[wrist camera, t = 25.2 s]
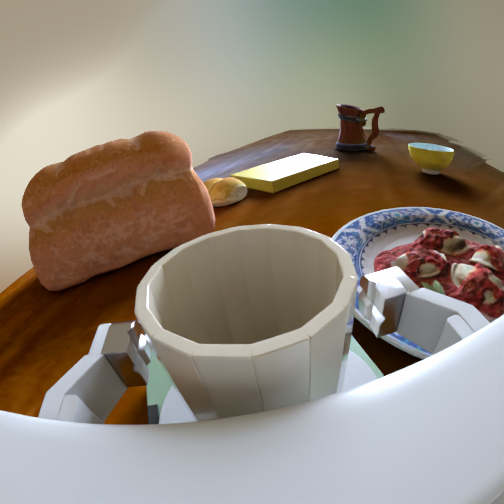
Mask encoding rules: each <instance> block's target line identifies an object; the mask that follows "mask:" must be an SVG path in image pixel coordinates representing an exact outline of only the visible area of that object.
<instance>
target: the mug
mask: <svg viewBox="0 0 504 504" xmlns="http://www.w3.org/2000/svg"><path fill="white" fill-rule="evenodd" d="M336 106H337V108H338V111H339V113H338V116H339V118H340V133H339V136H338V140H337V142H336V143H335V145H336V148H337V149H338V150H344V151H365V150H370V151H374V150H375V149H376V147H373V146H372V145H371V143H372V140H373V139H375V138H376V137H377V136H378V134H379V128H378V118H379V114H380V113H384V108H383V107H378V108H375V109H368V110H365V111H363V109H361V108H359V107H356V106H352V105H347V104H338V105H336ZM369 113H374V117H373V119H372V132H373V133H372V134H371V135H370V137H369V138H368V140H367V139H366V137H365V135H364V132H363V128H362V126H365V125H366V121H367V119H365V116H366V114H369ZM372 147H373V148H372Z"/></svg>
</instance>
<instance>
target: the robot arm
mask: <svg viewBox="0 0 504 504" xmlns="http://www.w3.org/2000/svg"><path fill="white" fill-rule="evenodd" d="M360 287H361V288H362V291H361V292H360V294H359V295H358V305H359V310H360V312H361V314H362V316H363V317H364V319H367V320H369V321H370V325H369V326H370V328H371V329H372V331H373V332H374V334H375V335H376V337H377V338H378V337H382V336H385V335H388V334H391V333H394V332H396V333H398V334H399V335H401V336H403V337H404V338H406V339H408V340H410V341H411V342H413V343H415V344H417V345H418V346H420V347H422V348H423V349H425V350H427V351H429V352H430V353H432V354H433V355H432V356H430V357H428V358H426V359H424V360H421V361H419V362H417V363H415V364H413V365H410V366H408V367H406V368H403V369H401V370H399V371H396V372H394V373H391V374H389V375H386V376H384V377H381V378H379V379H376V380H373V381H370V382H368V383H365V384H362V385H359V386H356V387H353V388H350V389H347V390H344V391H341V392H338V393H335V394H331V395H328V396H325V397H321V398H318V399H314V400H310V401H307V402H303V403H299V404H295V405H291V406H287V407H282V408H278V409H273V410H268V411H263V412H258V413H253V414H247V415H242V416H235V417H229V418H222V419H214V420H205V421H196V422H185V423H171V424H149V425H110V424H104V421H105V420H106V418H107V417H108V415H109V414H110V413H111V411H112V410H113V408H114V407H115V405H116V404H117V402H118V401H119V400H120V398H121V397H122V395H123V394H124V392H125V391H126V390H127V387H134V386H144V385H148V380H149V372H150V371H149V369H148V367H147V365H148V364H149V363H150V362H151V356H152V355H151V347H150V344H149V342H148V340H147V338H146V337H145V336H144V335H142V334H141V331H142V328H141V326H140V324H139V322H138V321H136V320H133V321H124V322H115V323H108V324H101V325H100V326H99V327H98V329H97V332H96V334H95V337H94V340H93V343H92V345H91V348H90V351H89V354H88V355H85V356H84V357H83V358H82V359H81V360H79V361H78V362H77V363H76V364H75V365H74V366H73V367H72V368H71V369H70V370H69V371H68V372H67V373H66V374H65V375H64V376H63V377H62V378H61V379H60V380H59V381H57V382H56V383H55V384H54V385H53V386H52V387H51V388H50V389H49V390H48V391H47V392H46V395H45V397H44V400H43V403H42V407H41V410H40V413H39V416H38V418H36V417H31V416H25V415H20V414H15V413H10V412H6V411H2V410H0V504H504V315H502V316H501V317H499V318H498V319H496V320H495V321H493V322H492V323H490V322H489V321H488V320H487V319H486V318H485V317H484V316H483V315H482V314H481V313H480V312H479V311H478V310H477V309H476V308H475V307H474V306H473V305H471V304H468V303H465V302H462V301H460V300H457V299H454V298H451V297H448V296H446V295H443V294H440V293H437V292H434V291H431V290H428V289H426V288H419V287H418V286H417V285H416V284H415V283H414V282H413V281H412V280H411V279H410V278H409V277H408V276H407V275H406V274H405V273H404V272H403V271H402V270H401V269H400V268H399V267H396V266H395V267H391V268H388V269H385V270H382V271H378V272H375V273H371V274H367V275H363V276H362V277H361V279H360Z"/></svg>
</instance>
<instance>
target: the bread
mask: <svg viewBox="0 0 504 504" xmlns="http://www.w3.org/2000/svg"><path fill="white" fill-rule="evenodd" d="M22 209H23V213H24V217H25V220H26V221H27V223H28V225H29V226H30V232H29V251H30V256H31V261H32V263H33V266H34V268H35V271H36V275H37V277H38V279H39V281H40V283H41V284H42V285H43V286H44V287H45V288H46V289H48V290H49V291H59V290H63V289H66V288H69V287H72V286H74V285H77V284H80V283H82V282H84V281H87V280H88V279H90V278H92V277H93V276H96V275H100V274H103V273H106V272H109V271H112V270H115V269H118V268H121V267H123V266H126V265H128V264H130V263H132V262H134V261H137V260H139V259H141V258H143V257H146V256H149V255H152V254H155V253H158V252H162V251H166V250H169V249H172V248H175V247H178V246H180V245H182V244H184V243H187V242H189V241H191V240H193V239H196V238H198V237H200V236H203V235H206V234H209V233H211V232H212V231H213V230H214V226H215V215H214V211H213V206H212V202H211V198H210V196H209V193H208V190H207V188H206V186H205V185H204V183H203V182H202V181H201V179H200V178H199V177H198V175H197V174H196V173H195V171H194V170H193V169H192V154H191V151H190V149H189V146H188V145H187V144H186V143H185V141H183V140H182V139H181V138H180V137H178V136H176V135H174V134H172V133H169V132H164V131H163V132H162V131H148V132H144V133H142V134H141V135H139V136H136V137H134V138H132V139H118V140H114V141H111V142H107V143H105V144H102V145H96V146H94V147H92V148H89V149H87V150H84V151H81V152H79V153H77V154H74V155H72V156H70V157H69V158H67V159H66V160H65V161H64V162H61V163H56V164H52V165H49V166H46V167H45V168H43V169H42V170H40V171H39V172H38V173H37V174H36V175H35V176H34V177H33V178H32V179H31V180H30V182H29V184H28V186H27V188H26V190H25V192H24V195H23V199H22Z"/></svg>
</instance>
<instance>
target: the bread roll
mask: <svg viewBox="0 0 504 504" xmlns="http://www.w3.org/2000/svg"><path fill="white" fill-rule="evenodd" d="M204 185H205V186H206V188H207V190H208V193H209V196H210V198H211V202H212V206H215V207H219V206H226V205H230V204H233V203H235V202H237V201H240V200H242V199H243V198H244V197H245V196H246V195H247V188H246V185H245V184H244V183H243V182H242V181H240V180H238V179H236V178H233V177H226V178H224V179H221V178H214V179H210V180H207V181H206V182H204Z"/></svg>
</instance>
